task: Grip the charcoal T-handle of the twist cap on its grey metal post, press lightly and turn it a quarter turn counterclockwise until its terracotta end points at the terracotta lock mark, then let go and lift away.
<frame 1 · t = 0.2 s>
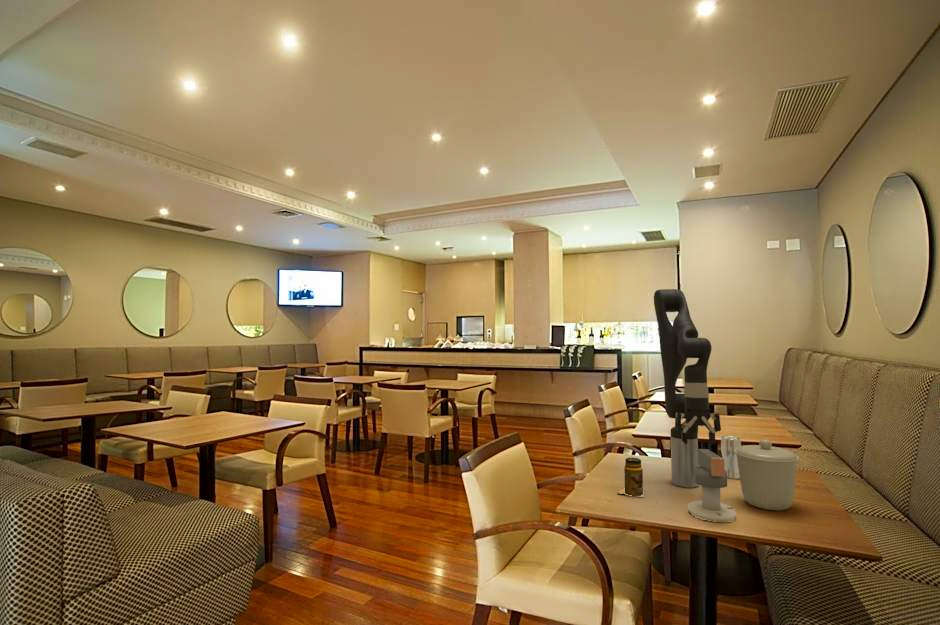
hand: (698, 443, 163), 18 cm above the table, tool pointing down, fingers open, 8 cm apart
post base: (711, 514, 147), on the table
twist cap: (710, 468, 148), point 14 cm above the table, hinge at 0.0°
canister: (767, 505, 155), on the table
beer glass: (731, 477, 185), on the table
condiment: (631, 493, 167), on the table
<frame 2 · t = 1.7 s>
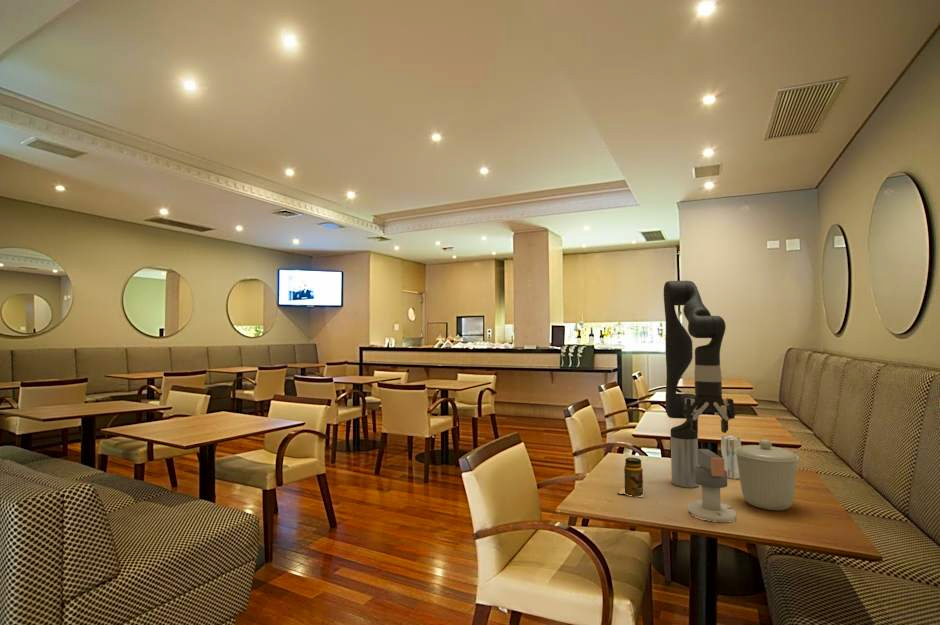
hand: (709, 432, 148), 25 cm above the table, tool pointing down, fingers open, 8 cm apart
nothing on the table moved.
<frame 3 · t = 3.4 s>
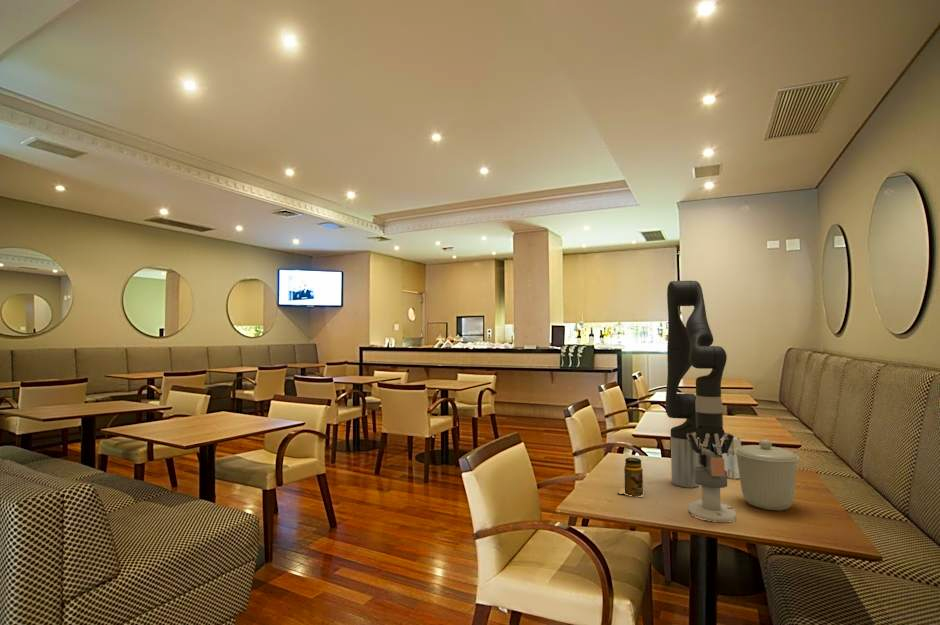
hand: (710, 466, 148), 15 cm above the table, tool pointing down, fingers closed on twist cap, 3 cm apart
twist cap: (710, 468, 148), point 14 cm above the table, hinge at 0.0°, touching gripper
everything else where it was.
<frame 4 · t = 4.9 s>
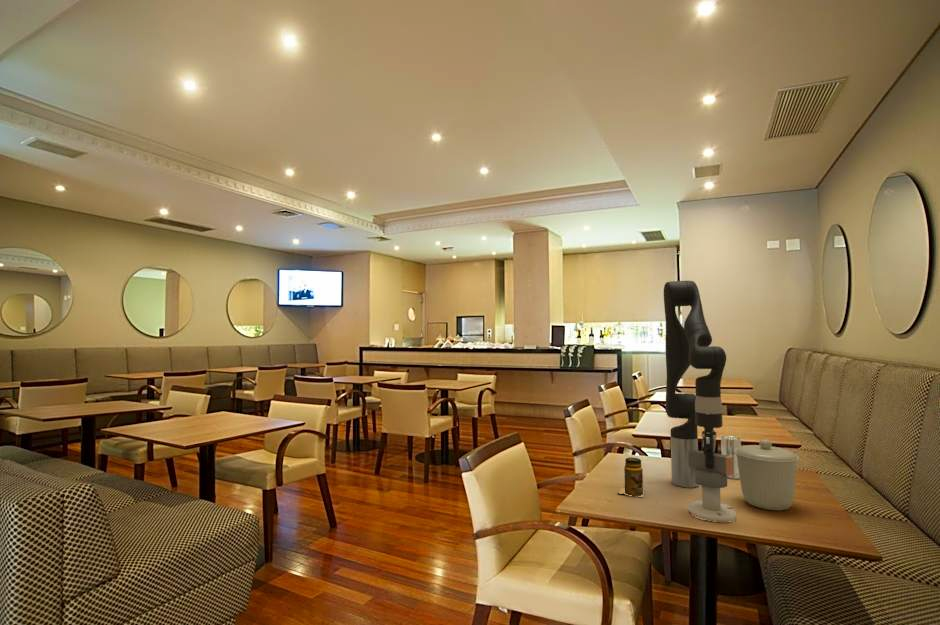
hand: (709, 466, 148), 15 cm above the table, tool pointing down, fingers closed on twist cap, 4 cm apart
twist cap: (710, 468, 148), point 14 cm above the table, hinge at 50.1°, touching gripper
everything else where it was.
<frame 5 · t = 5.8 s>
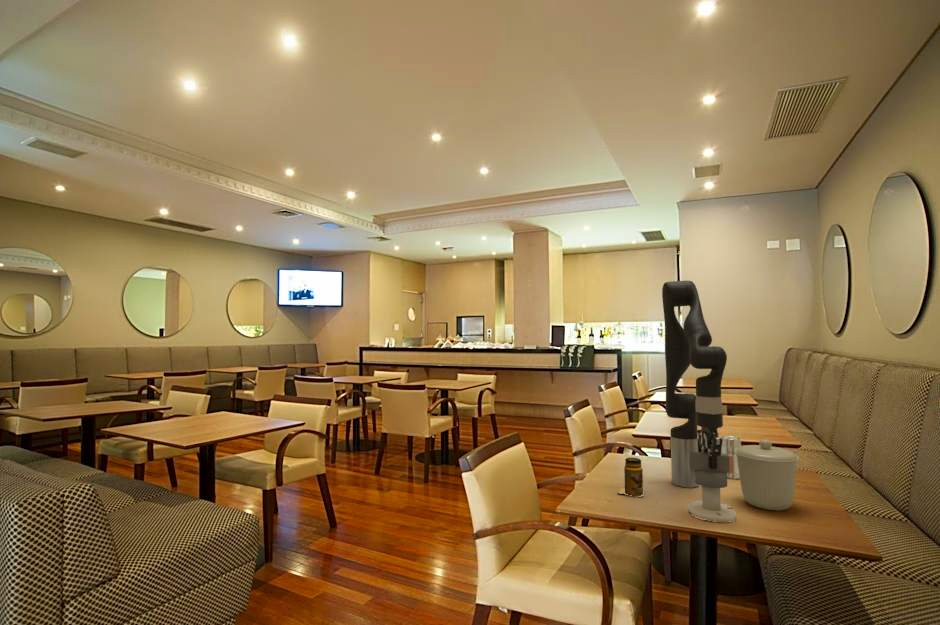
hand: (710, 466, 148), 15 cm above the table, tool pointing down, fingers closed on twist cap, 4 cm apart
twist cap: (710, 468, 148), point 14 cm above the table, hinge at 76.3°, touching gripper
everything else where it was.
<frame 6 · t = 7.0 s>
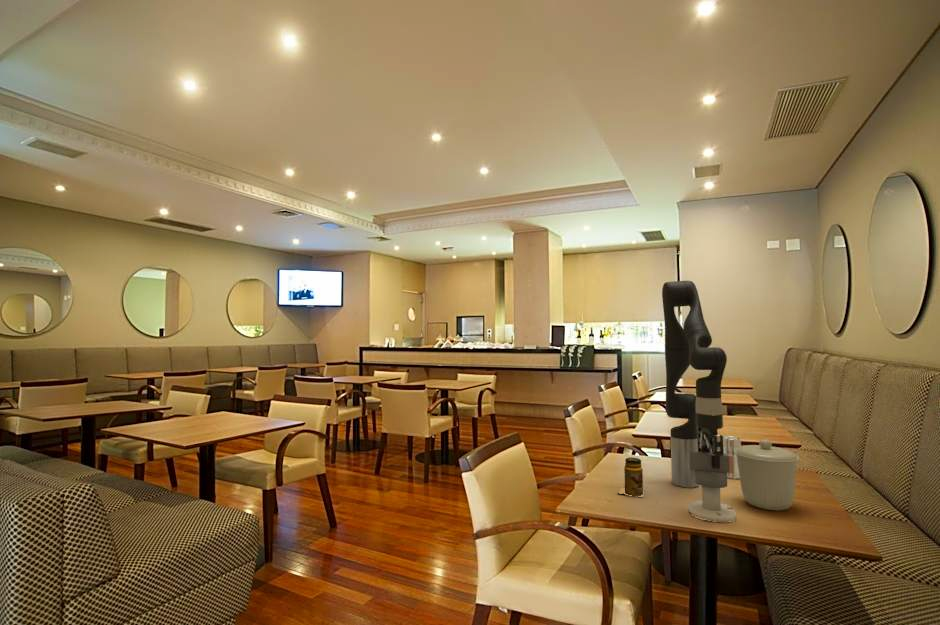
hand: (710, 464, 148), 15 cm above the table, tool pointing down, fingers open, 8 cm apart
twist cap: (710, 468, 148), point 14 cm above the table, hinge at 77.1°
everything else where it was.
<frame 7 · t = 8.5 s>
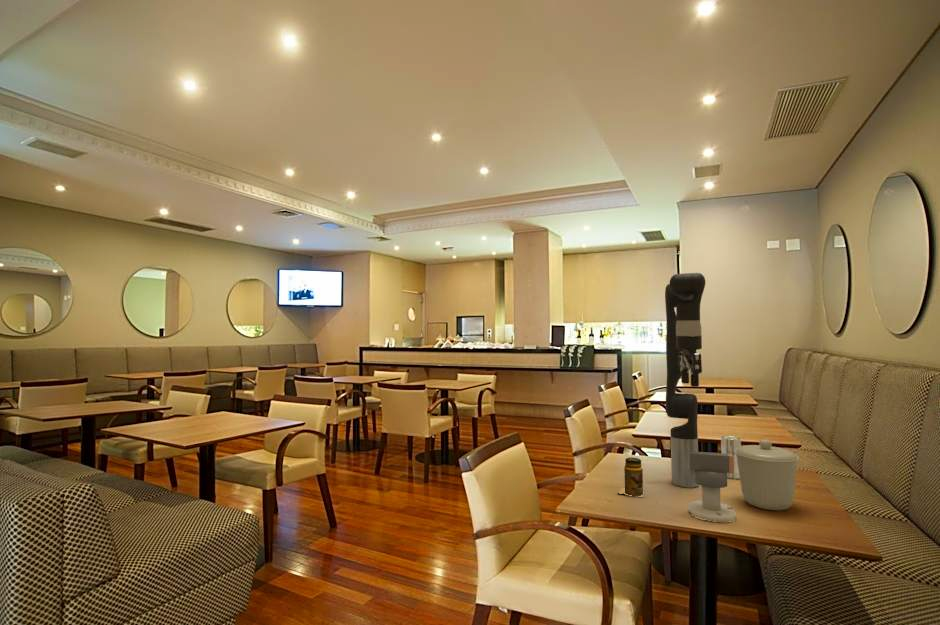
hand: (689, 384, 154), 39 cm above the table, tool pointing down, fingers open, 8 cm apart
nothing on the table moved.
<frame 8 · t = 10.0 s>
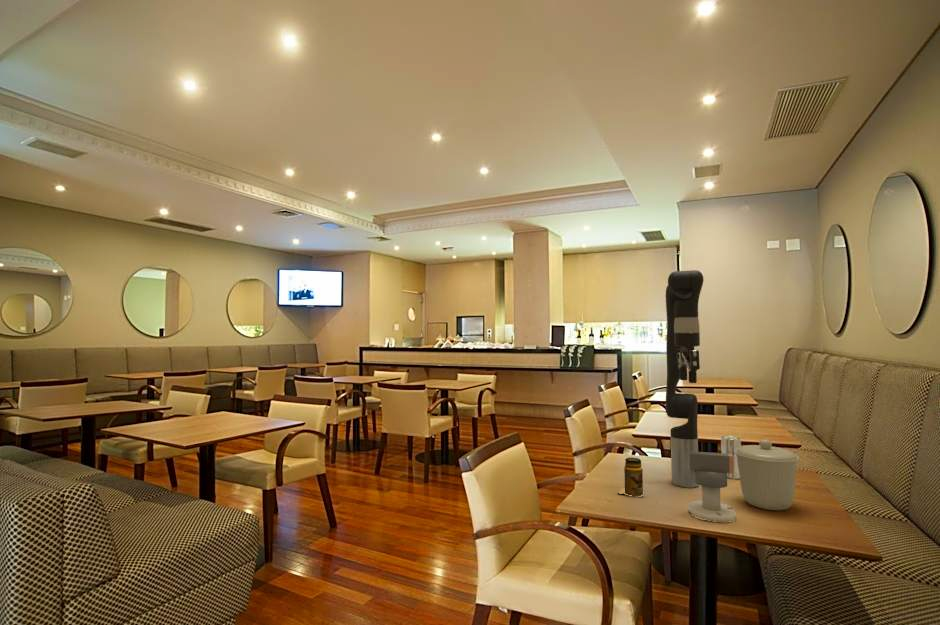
hand: (688, 381, 155), 40 cm above the table, tool pointing down, fingers open, 8 cm apart
nothing on the table moved.
at the end: twist cap at +77° (first picture: +0°); the gripper is holding nothing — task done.
